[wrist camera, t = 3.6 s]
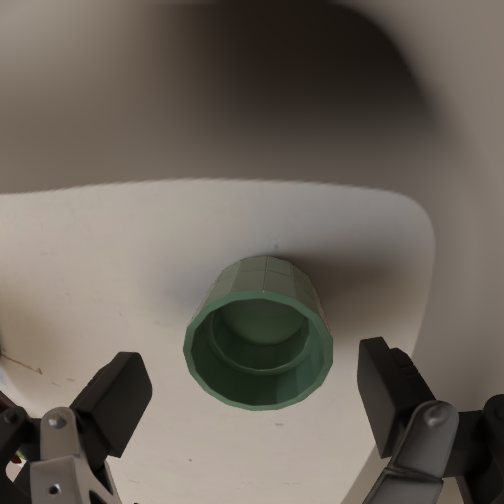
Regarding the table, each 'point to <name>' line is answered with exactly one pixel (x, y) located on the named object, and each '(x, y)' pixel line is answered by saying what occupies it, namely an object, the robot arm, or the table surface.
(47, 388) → the table surface
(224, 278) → the green cup
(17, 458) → the toy spacecraft
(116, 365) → the robot arm
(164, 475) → the table surface
